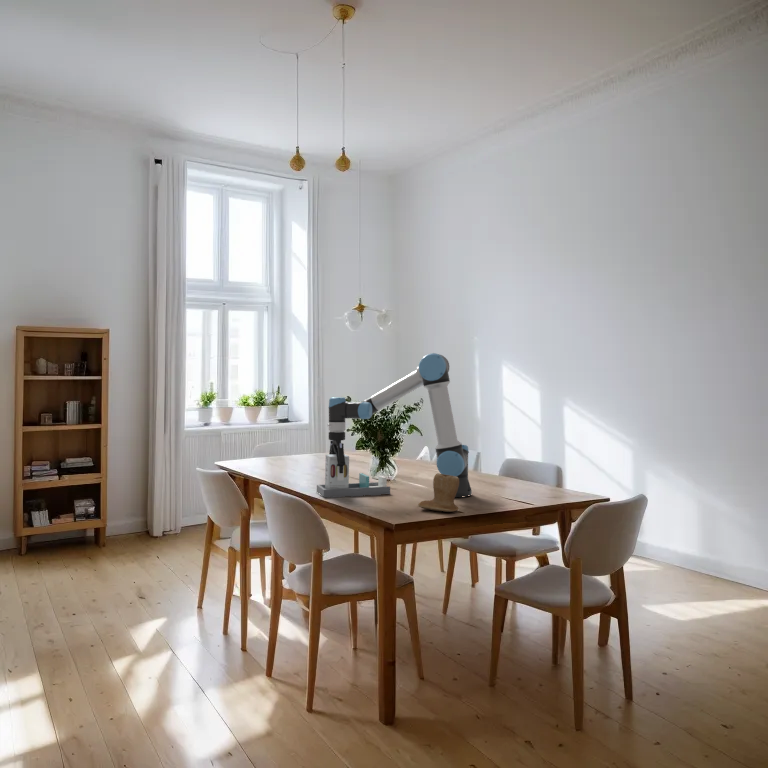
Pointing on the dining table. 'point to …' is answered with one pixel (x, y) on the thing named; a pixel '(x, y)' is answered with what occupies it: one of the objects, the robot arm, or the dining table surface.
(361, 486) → the pusher
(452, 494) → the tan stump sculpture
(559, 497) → the dining table surface
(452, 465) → the robot arm
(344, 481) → the supplement box
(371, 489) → the grey tray
